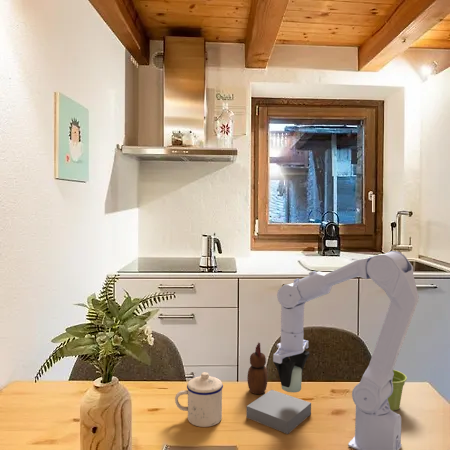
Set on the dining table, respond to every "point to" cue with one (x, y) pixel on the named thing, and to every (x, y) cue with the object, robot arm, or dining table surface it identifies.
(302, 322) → the robot arm
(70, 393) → the dining table surface
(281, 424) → the gray square block
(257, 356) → the wooden figurine
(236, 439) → the dining table surface
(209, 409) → the teacup with lid
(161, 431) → the dining table surface
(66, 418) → the dining table surface
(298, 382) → the sage cylinder
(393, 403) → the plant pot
